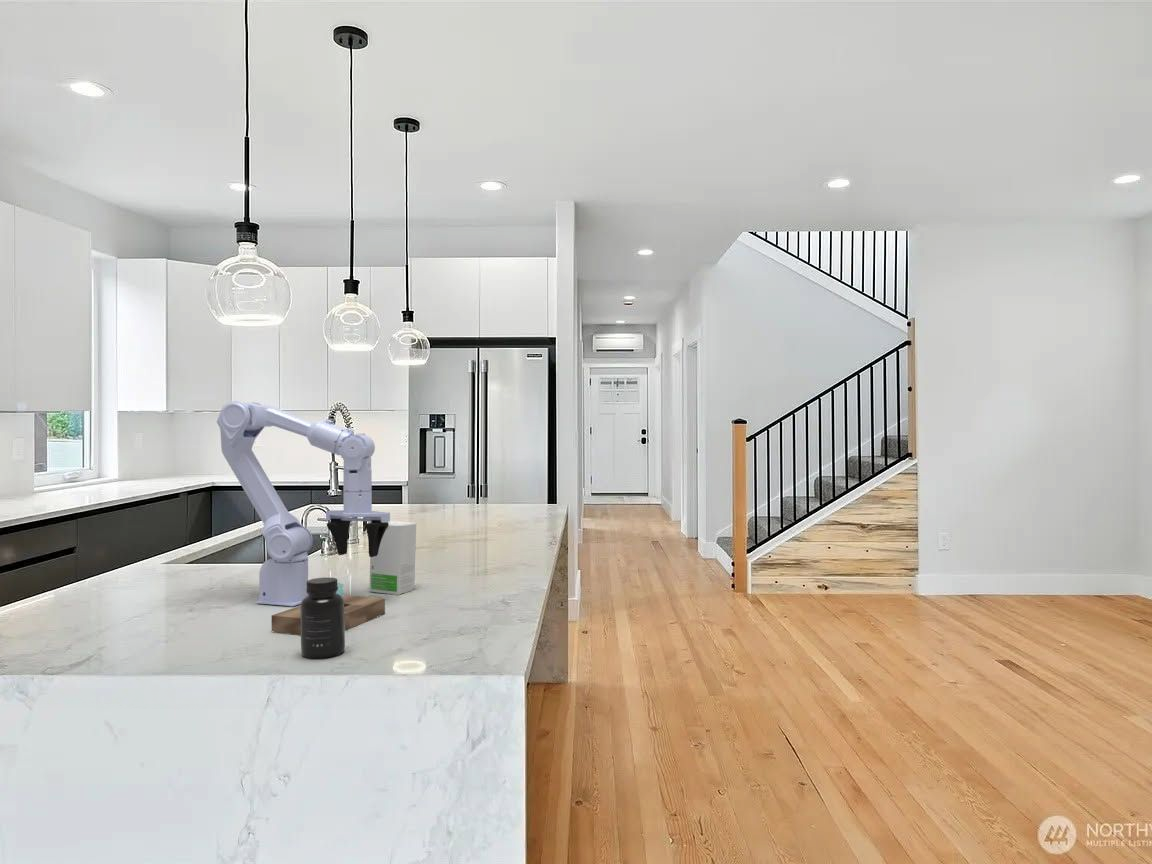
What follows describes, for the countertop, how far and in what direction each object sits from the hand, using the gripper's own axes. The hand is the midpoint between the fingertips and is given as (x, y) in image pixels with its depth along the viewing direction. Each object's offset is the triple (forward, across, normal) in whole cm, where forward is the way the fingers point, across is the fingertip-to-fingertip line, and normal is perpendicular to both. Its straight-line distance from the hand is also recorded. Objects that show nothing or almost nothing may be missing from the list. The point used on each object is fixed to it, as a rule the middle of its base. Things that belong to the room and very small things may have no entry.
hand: (357, 555), depth 159 cm
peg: (+10, +5, -16) cm, 19 cm away
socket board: (+10, +5, -16) cm, 19 cm away
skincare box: (+10, +1, +12) cm, 16 cm away
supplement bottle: (+10, +16, -33) cm, 38 cm away
